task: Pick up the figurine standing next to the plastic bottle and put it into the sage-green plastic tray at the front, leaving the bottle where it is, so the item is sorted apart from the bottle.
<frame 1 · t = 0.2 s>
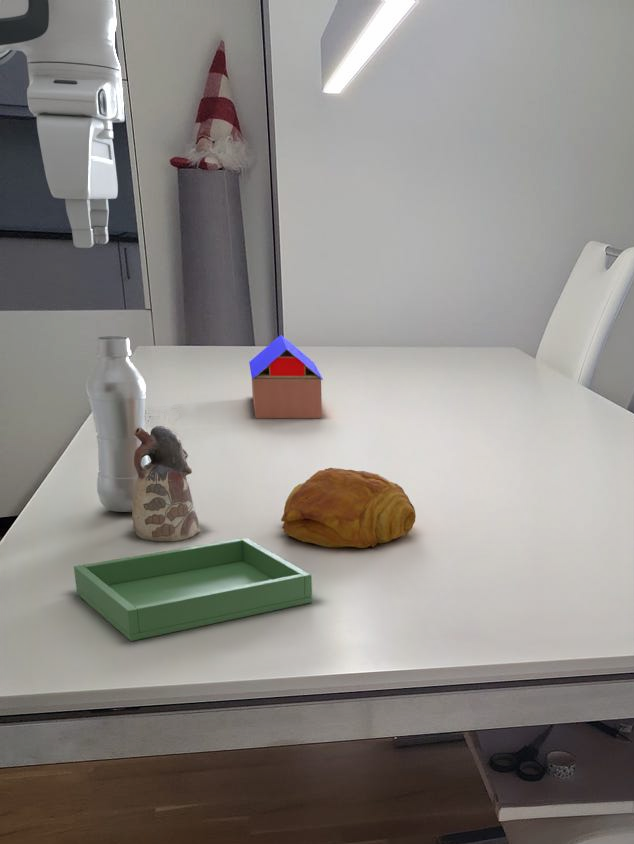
hand: (92, 245, 111), 30 cm above the table, tool pointing down, fingers open, 8 cm apart
house: (285, 408, 188), on the table
figurine: (167, 534, 116), on the table
green tray: (194, 598, 98), on the table
croissant: (343, 534, 119), on the table
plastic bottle: (128, 512, 124), on the table
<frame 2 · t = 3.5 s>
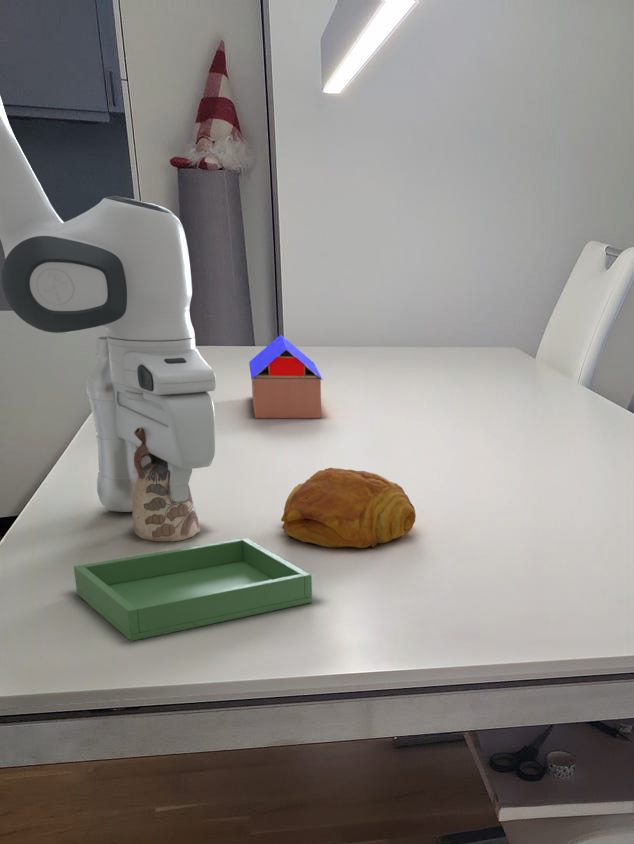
hand: (163, 491, 115), 5 cm above the table, tool pointing down, fingers closed on figurine, 6 cm apart
figurine: (167, 534, 116), on the table, touching gripper
everything else where it was.
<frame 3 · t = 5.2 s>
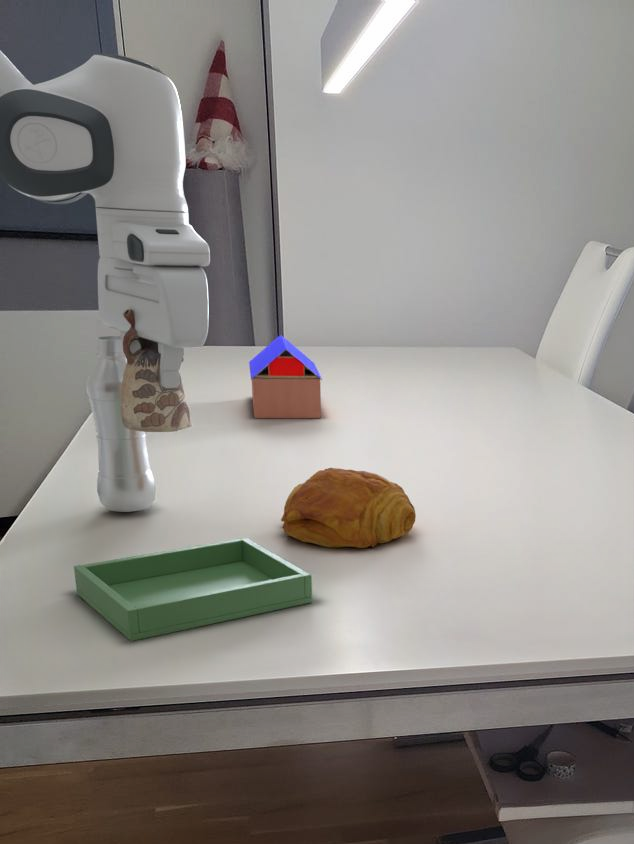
hand: (153, 381, 109), 17 cm above the table, tool pointing down, fingers closed on figurine, 6 cm apart
figurine: (156, 427, 111), point 12 cm above the table, touching gripper
everything else where it was.
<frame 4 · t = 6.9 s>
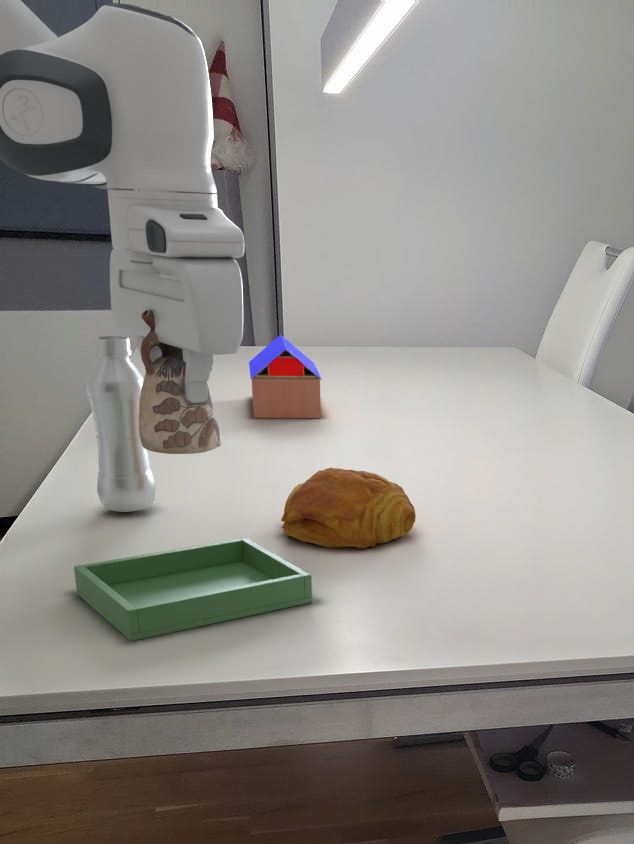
hand: (177, 394, 93), 19 cm above the table, tool pointing down, fingers closed on figurine, 6 cm apart
figurine: (181, 447, 95), point 14 cm above the table, touching gripper
everything else where it was.
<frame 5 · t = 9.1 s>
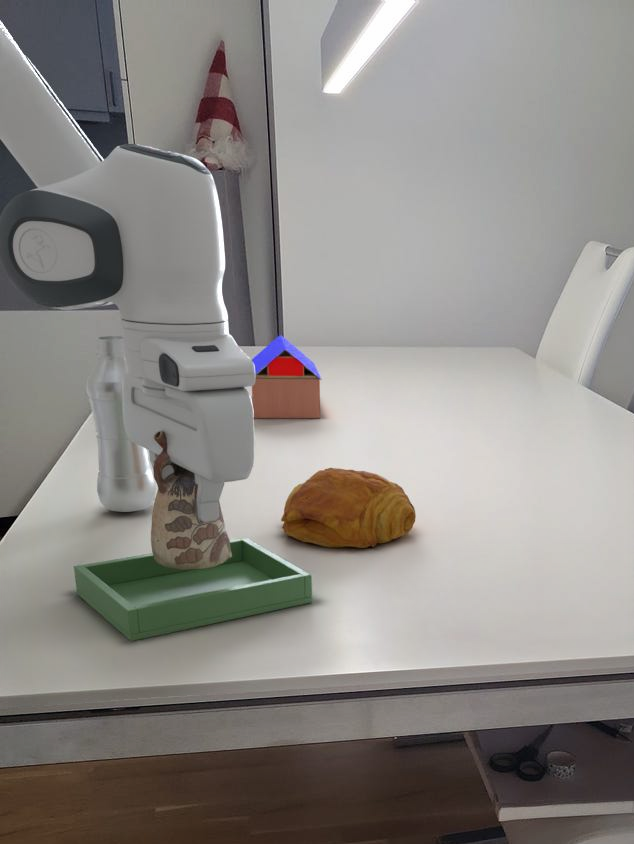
hand: (188, 509, 95), 9 cm above the table, tool pointing down, fingers closed on figurine, 6 cm apart
figurine: (192, 559, 96), point 4 cm above the table, touching gripper
everything else where it was.
when the fingers open (5 cm above the table, at t = 10.6 s): figurine stays where it is, resting on green tray.
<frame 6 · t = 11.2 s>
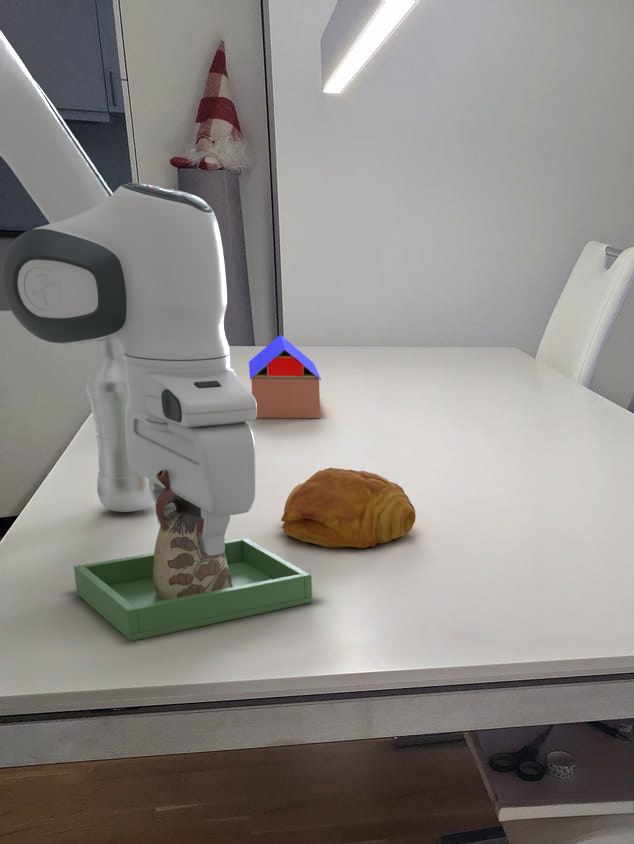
hand: (190, 539, 96), 6 cm above the table, tool pointing down, fingers open, 8 cm apart
figurine: (194, 594, 98), resting on green tray
everything else where it was.
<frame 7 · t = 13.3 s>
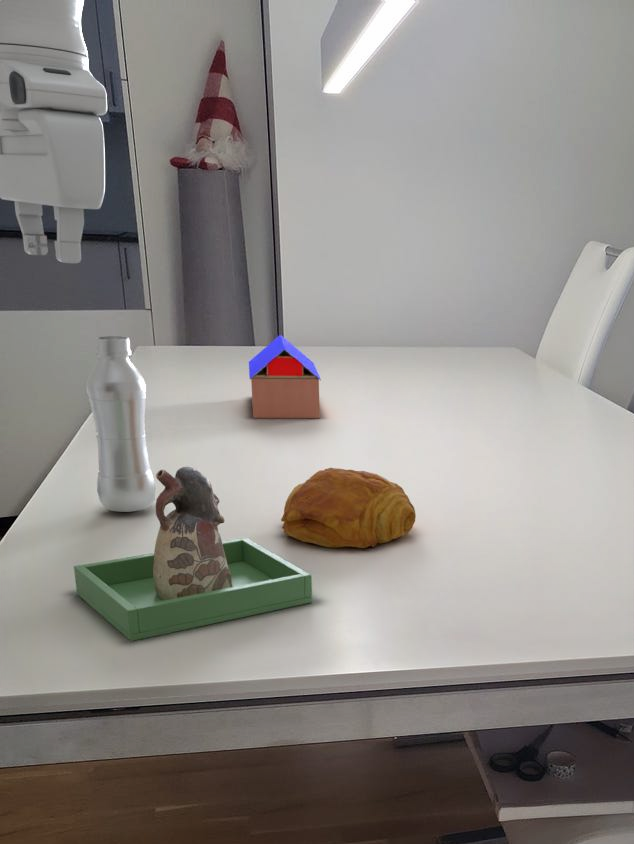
hand: (52, 258, 95), 29 cm above the table, tool pointing down, fingers open, 8 cm apart
nothing on the table moved.
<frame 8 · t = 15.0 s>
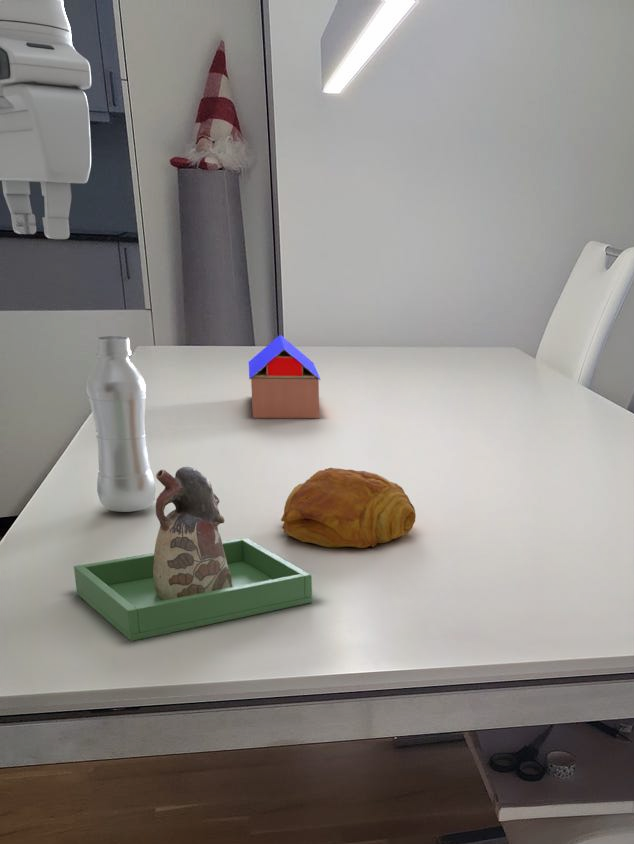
hand: (40, 236, 96), 31 cm above the table, tool pointing down, fingers open, 8 cm apart
nothing on the table moved.
at the end: figurine inside the target area in the green tray (0.0 cm from its centre), point 0.4 cm above the green tray's base; the gripper is holding nothing; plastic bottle moved 0.2 cm from its start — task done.
